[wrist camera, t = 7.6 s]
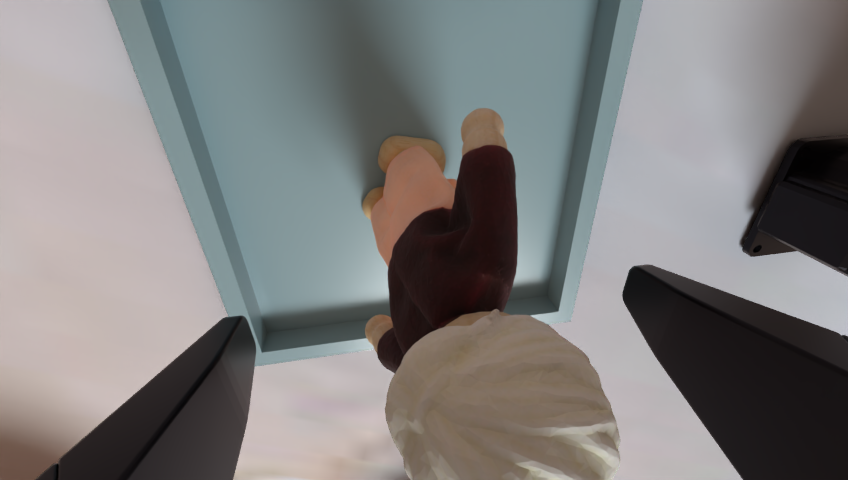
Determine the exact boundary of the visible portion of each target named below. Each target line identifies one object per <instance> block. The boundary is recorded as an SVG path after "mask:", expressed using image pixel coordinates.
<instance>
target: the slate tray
mask: <svg viewBox="0 0 848 480" xmlns="http://www.w3.org/2000/svg"><path fill="white" fill-rule="evenodd" d="M642 2H643V0H108V3H109V5H110V8H111V11H112V13H113V16H114V18H115V21H116V24H117V26H118V29H119V31H120V34H121V37H122V39H123V42H124V45H125V47H126V50H127V52H128V55H129V58H130V60H131V63H132V65H133V68H134V71H135V73H136V76H137V79H138V81H139V84H140V86H141V89H142V92H143V94H144V97H145V99H146V102H147V105H148V107H149V110H150V113H151V115H152V118H153V120H154V123H155V126H156V128H157V131H158V133H159V136H160V139H161V141H162V144H163V146H164V149H165V152H166V154H167V157H168V160H169V162H170V165H171V167H172V170H173V173H174V175H175V178H176V180H177V183H178V186H179V188H180V191H181V194H182V196H183V199H184V201H185V204H186V207H187V209H188V212H189V214H190V217H191V220H192V222H193V225H194V228H195V230H196V233H197V235H198V238H199V241H200V243H201V246H202V248H203V251H204V254H205V256H206V259H207V261H208V264H209V267H210V269H211V272H212V275H213V277H214V280H215V282H216V285H217V288H218V290H219V293H220V295H221V298H222V301H223V303H224V306H225V309H226V311H227V314H228V316H229V317H232V316H240V315H242V316H245V317H246V319H247V321H248V323H249V326H250V329H251V332H252V335H253V337H254V340H255V344H256V359H255V366H262V365H269V364H276V363H283V362H290V361H297V360H304V359H311V358H318V357H325V356H332V355H339V354H346V353H353V352H360V351H367V350H374V347H373V345H372V344H371V343H370V342H369V341H368V339H367V338H366V335H365V327H366V324H367V322H368V321H369V320H370V319H371V318H372V317H374V316H375V315H387V316H389V317H391V314H390V303H389V288H388V266H387V265H386V263H385V261H384V259H383V258H382V257H381V255H380V253H379V251H378V248H377V245H376V239H375V235H374V232H373V228H372V223H371V220H370V219H368V218H367V217H366V216H365V214H364V212H363V210H362V204H363V201H364V199H365V197H366V196H367V194H368V193H369V192H370V191H371V190H372V189H374V188H377V187H384V185H385V180H386V173H384V172H383V171H382V170H381V168H380V167H379V164H378V155H379V150H380V147H381V145H382V143H383V142H384V141H385V140H386V139H388V138H389V137H392V136H407V137H414V138H423V139H429V140H433V141H435V142H437V143H438V144H439V145H440V146H441V147H442V148H443V150H444V153H445V157H446V164H445V169H444V172H443V175H444V176H445V177H446V179H455V180H457V178H458V174H459V168H460V163H461V159H462V147H463V141H462V137H461V126H462V123H463V121H464V119H465V117H466V116H467V115H468V114H469V113H470V112H472V111H474V110H475V109H478V108H488V109H492V110H494V111H495V112H497V113H498V114H499V115H500V117H501V119H502V120H503V123H504V135H503V137H504V139H505V141H506V143H507V148H508V151H509V152H510V153H511V154H512V156H513V159H514V165H515V172H516V198H517V215H518V255H517V268H516V276H515V279H514V283H513V287H512V290H511V293H510V296H509V299H508V301H507V303H506V306H505V309H504V311H503V312H504V313H507V314H510V315H529V316H532V317H534V318H535V319H537V320H539V321H542V322H544V323H545V324H547V325H549V324H556V323H564V322H571V318H572V314H573V309H574V305H575V300H576V296H577V291H578V287H579V283H580V278H581V274H582V269H583V265H584V260H585V256H586V251H587V247H588V243H589V238H590V234H591V229H592V225H593V220H594V216H595V211H596V207H597V203H598V198H599V194H600V189H601V185H602V180H603V176H604V171H605V167H606V162H607V158H608V154H609V149H610V145H611V140H612V136H613V131H614V127H615V122H616V118H617V114H618V109H619V105H620V100H621V96H622V91H623V87H624V82H625V78H626V74H627V69H628V65H629V60H630V56H631V51H632V47H633V42H634V38H635V33H636V29H637V25H638V20H639V16H640V11H641V7H642Z"/></svg>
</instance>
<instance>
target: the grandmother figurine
mask: <svg viewBox="0 0 848 480" xmlns="http://www.w3.org/2000/svg"><path fill="white" fill-rule="evenodd" d="M503 135H504V123H503V120H502V119H501V117H500V115H499V114H498V113H497V112H495V111H494V110H492V109H488V108H478V109H475V110H474V111H472V112H470V113H469V114H468V115H467V116H466V117H465V119H464V121H463V123H462V126H461V137H462V141H463V147H462V159H461V163H460V168H459V174H458V178H457V180H455V179H446V177H445V176H444V175H443V172H444V169H445V164H446V157H445V153H444V150H443V148H442V147H441V146H440V145H439V144H438V143H437V142H435V141H433V140H429V139H423V138H414V137H407V136H392V137H389V138H388V139H386V140H385V141H384V142H383V143H382V145H381V147H380V150H379V155H378V164H379V167H380V168H381V170H382V171H383V172H384V173H386V180H385V185H384V187H377V188H374V189H372V190H371V191H370V192H369V193H368V194H367V196H366V197H365V199H364V201H363V204H362V210H363V212H364V214H365V216H366V217H367V218H368V219H370V220H371V223H372V228H373V232H374V235H375V239H376V245H377V248H378V251H379V253H380V255H381V257H382V258H383V259H384V261H385V263H386V265H387V266H388V288H389V303H390V314H391V317H389V316H387V315H375V316H374V317H372V318H371V319H370V320H369V321H368V322H367V324H366V327H365V335H366V338H367V339H368V341H369V342H370V343H371V344H372V345H373V347H374V349H375V351H376V352H377V354H378V358H379V360H380V362H381V363H382V365H383V366H384V367H386V368H387V369H388V370H390V371H392V372H394V373H395V375H394V376H393V378H392V380H391V382H390V386H389V389H388V393H387V402H386V407H385V413H386V421H387V424H388V427H389V430H390V433H391V435H392V438H393V440H394V443H395V444H396V446H397V448H398V450H399V451H400V453H401V455H402V456H403V460H404V468H405V471H406V474H407V475H408V477H409V478H410V480H612V479H613V477H614V475H615V474H616V472H617V470H618V469H619V466H620V455H619V451H618V447H619V445H620V436H619V432H618V428H617V424H616V420H615V417H614V415H613V412H612V409H611V405H610V402H609V401H608V399H607V398H606V396H605V394H604V392H603V390H602V387H601V382H600V378H599V375H598V373H597V372H596V370H595V369H594V368H593V366H592V365H591V364H590V361H589V358H588V357H587V356H586V354H585V353H584V352H583V351H581V350H580V349H579V348H577V347H576V346H575V345H573V344H572V343H570V342H569V341H568V340H566V339H565V338H563V337H562V336H560V335H559V334H558V333H557V332H556V331H555V330H554V329H553V328H551V327H550V326H549V325H547V324H545V323H544V322H542V321H539V320H537V319H535V318H534V317H532V316H529V315H510V314H507V313H504V312H503V311H504V309H505V306H506V303H507V301H508V299H509V296H510V293H511V290H512V287H513V283H514V279H515V276H516V268H517V255H518V215H517V198H516V172H515V165H514V159H513V156H512V154H511V153H510V152H509V151H508V148H507V143H506V141H505V139H504V137H503Z"/></svg>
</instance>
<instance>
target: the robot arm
mask: <svg viewBox="0 0 848 480" xmlns="http://www.w3.org/2000/svg"><path fill="white" fill-rule="evenodd" d="M742 250H743V252H744V253H746V254H748V255H749V256H753V257H754V256H762V255H770V254H778V253H786V252H793V251H799V252H801V253H803V254H805V255H807V256H809V257H811V258H813V259H815V260H817V261H818V262H820V263H822V264H824V265H826V266H828V267H830V268H832V269H834V270H836V271H838V272H840V273H842V274H844V275H846V276H848V135H841V136H829V137H817V138H805V139H799V140H797V141H796V142H794V143H793V144H792V145H791V146H790V148H789V149H788V152H787V154H786V156H785V158H784V160H783V162H782V164H781V166H780V169H779V171H778V173H777V175H776V177H775V179H774V181H773V183H772V186H771V188H770V190H769V192H768V194H767V196H766V198H765V201H764V203H763V205H762V207H761V209H760V211H759V213H758V215H757V218H756V220H755V222H754V224H753V226H752V228H751V230H750V233H749V235H748V237H747V239H746V241H745V243H744V245H743V248H742ZM623 301H624V303H625V305H626V307H627V309H628V310H629V312H630V314H631V316H632V317H633V319H634V321H635V323H636V324H637V326H638V328H639V329H640V331H641V333H642V335H643V336H644V338H645V340H646V342H647V343H648V345H649V347H650V348H651V350H652V352H653V353H654V355H655V357H656V358H657V360H658V361H659V362H660V364H661V365H662V367H663V368H664V370H665V371H666V372H667V374H668V375H669V377H670V378H671V379H672V381H673V382H674V384H675V385H676V386H677V388H678V389H679V391H680V392H681V393H682V395H683V396H684V398H685V399H686V400H687V402H688V403H689V405H690V406H691V407H692V409H693V410H694V412H695V413H696V415H697V416H698V417H699V419H700V420H701V422H702V423H703V424H704V426H705V427H706V429H707V430H708V431H709V433H710V434H711V436H712V437H713V438H714V440H715V441H716V443H717V444H718V445H719V447H720V448H721V450H722V451H723V452H724V454H725V455H726V457H727V458H728V459H729V461H730V462H731V464H732V465H733V466H734V468H735V469H736V471H737V472H738V473H739V475H740V476H741V478H742V479H743V480H848V336H845V335H842V336H841V335H840V334H839V333H837V332H834V331H831V330H829V329H826V328H823V327H820V326H818V325H815V324H812V323H809V322H807V321H804V320H801V319H798V318H796V317H793V316H790V315H787V314H785V313H782V312H779V311H776V310H774V309H771V308H768V307H765V306H763V305H760V304H757V303H754V302H752V301H749V300H746V299H743V298H741V297H738V296H735V295H732V294H730V293H727V292H724V291H721V290H719V289H716V288H713V287H710V286H708V285H705V284H702V283H699V282H697V281H694V280H691V279H688V278H686V277H683V276H680V275H677V274H675V273H672V272H669V271H666V270H664V269H661V268H658V267H655V266H653V265H639V266H634V267H632V268H631V269H630V270H629V273H628V276H627V280H626V283H625V286H624V290H623ZM255 359H256V344H255V340H254V337H253V335H252V332H251V329H250V326H249V323H248V321H247V319H246V317H245V316H242V315H240V316H232V317H225V318H223V319H222V320H220V321H219V322H218V323H217V324H216V325H214V326H213V327H212V328H211V329H210V330H209V331H207V332H206V333H205V334H204V335H203V336H202V337H200V338H199V339H198V340H197V341H196V342H195V343H193V344H192V345H191V346H190V347H189V348H188V349H187V350H185V351H184V352H183V353H182V354H181V355H180V356H178V357H177V358H176V359H175V360H174V361H173V362H171V363H170V364H169V365H168V366H167V367H166V368H164V369H163V370H162V371H161V372H160V373H159V374H157V375H156V376H155V377H154V378H153V379H152V380H150V381H149V382H148V383H147V384H146V385H145V386H144V387H142V388H141V389H140V390H139V391H138V392H137V393H135V394H134V395H133V396H132V397H131V398H130V399H128V400H127V401H126V402H125V403H124V404H123V405H121V406H120V407H119V408H118V409H117V410H116V411H114V412H113V413H112V414H111V415H110V416H109V417H107V418H106V419H105V420H104V421H103V422H102V423H101V424H99V425H98V426H97V427H96V428H95V429H94V430H92V431H91V432H90V433H89V434H88V435H87V436H85V437H84V438H83V439H82V440H81V441H80V442H78V443H77V444H76V445H75V446H74V447H73V448H71V449H70V450H69V451H68V452H67V453H66V454H64V455H63V456H62V457H61V458H60V459H59V461H58V463H55V464H53V465H51V466H50V467H49V468H48V469H47V470H46V471H44V472H43V473H42V474H41V475H40V476H39V477H38V478H36V479H35V480H233V477H234V473H235V469H236V465H237V461H238V457H239V453H240V449H241V445H242V441H243V437H244V433H245V429H246V424H247V419H248V413H249V406H250V398H251V390H252V382H253V374H254V367H255Z"/></svg>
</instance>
